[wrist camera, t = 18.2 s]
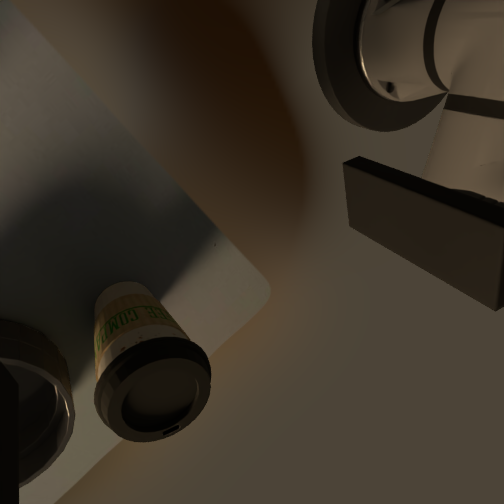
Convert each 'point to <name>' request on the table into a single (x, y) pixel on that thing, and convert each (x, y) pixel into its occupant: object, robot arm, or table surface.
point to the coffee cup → (145, 366)
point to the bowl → (38, 397)
